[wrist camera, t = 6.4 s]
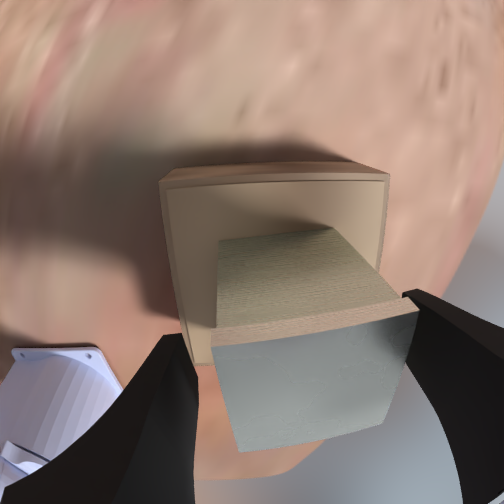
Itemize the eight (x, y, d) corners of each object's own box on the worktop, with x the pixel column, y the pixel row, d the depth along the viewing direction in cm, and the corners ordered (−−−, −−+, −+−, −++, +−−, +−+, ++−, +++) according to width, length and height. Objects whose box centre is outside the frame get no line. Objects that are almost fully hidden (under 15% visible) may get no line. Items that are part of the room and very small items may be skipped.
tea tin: (231, 335, 13) (239, 452, 8) (215, 238, 11) (210, 346, 6) (332, 321, 13) (382, 423, 8) (335, 224, 11) (419, 310, 6)
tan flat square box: (195, 319, 18) (190, 367, 14) (175, 167, 14) (157, 182, 10) (340, 307, 18) (364, 349, 14) (352, 160, 14) (391, 174, 11)
